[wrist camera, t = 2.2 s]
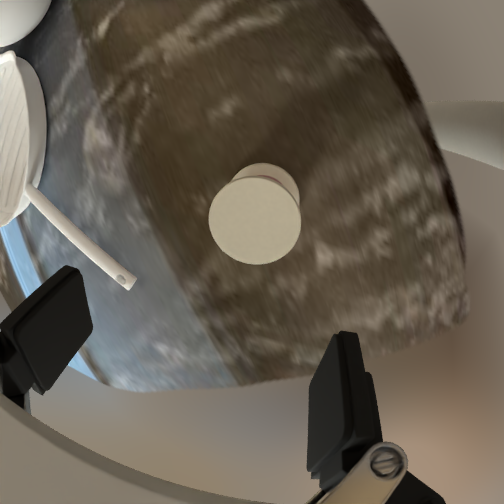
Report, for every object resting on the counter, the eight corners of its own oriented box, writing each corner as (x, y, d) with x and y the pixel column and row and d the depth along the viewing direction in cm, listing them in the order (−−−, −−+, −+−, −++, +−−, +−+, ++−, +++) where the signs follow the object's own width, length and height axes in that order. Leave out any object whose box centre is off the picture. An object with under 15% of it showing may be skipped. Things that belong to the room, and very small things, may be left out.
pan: (-2, 28, 16) (-19, 28, 13) (208, 180, 24) (194, 190, 21) (-41, 165, 26) (-55, 171, 23) (109, 327, 34) (96, 344, 31)
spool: (314, 195, 23) (320, 220, 18) (267, 244, 26) (260, 280, 20) (258, 147, 22) (246, 157, 17) (214, 201, 24) (191, 227, 19)
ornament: (7, 37, 17) (-61, 40, 7) (45, -28, 13) (-20, -42, 2) (37, 57, 19) (-45, 60, 8) (83, -19, 15) (6, -43, 4)
